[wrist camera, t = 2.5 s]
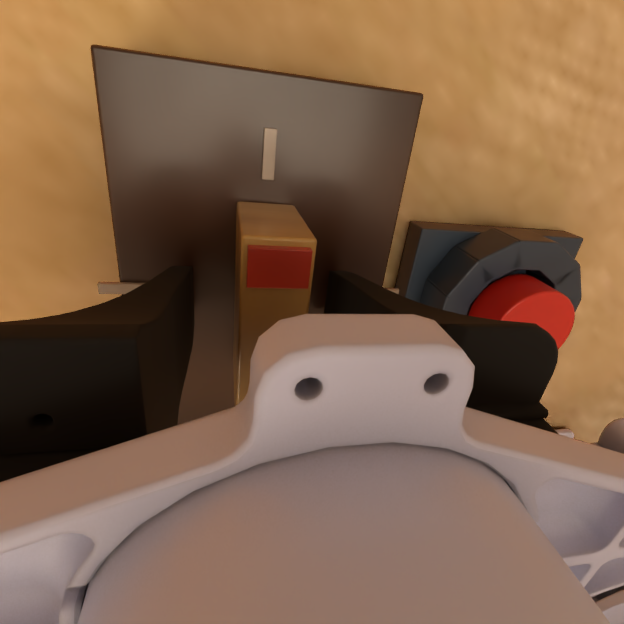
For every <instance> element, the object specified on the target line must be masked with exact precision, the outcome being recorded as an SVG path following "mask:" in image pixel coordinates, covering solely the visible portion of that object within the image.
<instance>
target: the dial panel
mask: <svg viewBox="0 0 624 624" xmlns="http://www.w3.org/2000/svg"><path fill="white" fill-rule="evenodd" d="M91 56H92V63H93V71H94V79H95V87H96V95H97V103H98V111H99V119H100V127H101V135H102V143H103V151H104V158H105V166H106V174H107V182H108V190H109V198H110V206H111V214H112V222H113V230H114V238H115V246H116V253H117V261H118V269H119V277H120V282H98V291H99V294H122V295H124V294H126V293H128V292H130V291H132V290H134V289H135V288H137V287H139V286H141V285H143V284H144V283H146V282H148V281H149V280H151V279H152V278H154V277H155V276H157V275H159V274H160V273H162V272H163V271H164V270H166V269H168V268H169V267H171V266H193V289H194V321H195V323H194V337H193V347H192V351H191V356H190V360H189V365H188V369H187V373H186V378H185V382H184V386H183V390H182V395H181V400H180V406H179V414H178V423H177V425H179V424H183V423H186V422H189V421H192V420H195V419H198V418H201V417H204V416H207V415H210V414H214V413H217V412H220V411H223V410H226V409H229V408H232V407H235V400H234V374H233V342H234V298H235V254H236V210H237V202H254V203H269V204H283V205H293V206H295V208H296V209H297V211H298V212H299V214H300V215H301V217H302V218H303V220H304V221H305V223H306V224H307V226H308V228H309V229H310V231H311V232H312V234H313V235H314V237H315V238H316V240H317V246H316V254H315V262H314V270H313V278H312V286H311V295H310V303H309V311H308V314H324V307H325V300H326V293H327V286H328V279H329V272H330V271H348V272H352V273H354V274H357V275H359V276H361V277H363V278H365V279H367V280H369V281H371V282H373V283H375V284H377V285H379V286H381V287H382V285H383V281H384V276H385V271H386V267H387V262H388V257H389V253H390V248H391V244H392V239H393V234H394V230H395V225H396V220H397V216H398V211H399V206H400V202H401V197H402V193H403V188H404V183H405V179H406V174H407V169H408V165H409V160H410V155H411V151H412V146H413V142H414V137H415V132H416V128H417V123H418V118H419V114H420V109H421V104H422V100H423V94H422V93H417V92H411V91H404V90H397V89H390V88H384V87H377V86H370V85H364V84H357V83H350V82H343V81H337V80H330V79H323V78H316V77H310V76H303V75H296V74H289V73H283V72H276V71H269V70H262V69H256V68H249V67H242V66H235V65H229V64H222V63H215V62H209V61H202V60H195V59H188V58H182V57H175V56H168V55H161V54H155V53H148V52H141V51H134V50H128V49H121V48H114V47H107V46H101V45H91ZM386 289H388V290H390V291H392V292H394V293H396V294H398V293H399V289H398V288H386Z"/></svg>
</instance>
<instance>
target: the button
mask: <svg viewBox="0 0 624 624" xmlns="http://www.w3.org/2000/svg"><path fill="white" fill-rule="evenodd" d="M468 316H473V317H480V318H486V319H493V320H503V321H514V322H526V323H535V324H537V325H539V326H540V327H541V328H543V329H544V330H546V331H547V332H548V333H550V335H551V336H552V337H553V338H554V339H555V341H556V344H557V348H558V349H559V348H560V347H561V346H562V344H563V343H564V342H565V340H566V339H567V337H568V335H569V334H570V332H571V329H572V327H573V323H574V317H575V312H574V307H573V304H572V303H571V301H570V299H569V298H568V297H567V296H565V295H564V294H562V293H561V292H559V291H557V290H556V289H554V288H552V287H550V286H549V285H547V284H545V283H543V282H542V281H540V280H538V279H536V278H535V277H532V276H530V275H526V274H514V275H509V276H505V277H503V278H500V279H498V280H497V281H495V282H493V283H492V284H490V285H489V286H488V287H486V288H485V289H484V290H483V291H482V292H481V293H480V294H479V295H478V297H477V298H476V299H475V301H474V302H473V304H472V306H471V308H470V311H469V314H468Z"/></svg>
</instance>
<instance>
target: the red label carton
mask: <svg viewBox="0 0 624 624" xmlns="http://www.w3.org/2000/svg"><path fill="white" fill-rule="evenodd" d="M316 246H317V240H316V238H315V237H314V235H313V234H312V232H311V231H310V229H309V228H308V226H307V224H306V223H305V221H304V220H303V218H302V217H301V215H300V214H299V212H298V211H297V209H296V208H295V206H293V205H283V204H269V203H254V202H237V210H236V254H235V298H234V342H233V374H234V400H235V406H236V405H238V404H239V403H240V402H241V401H242V400H243V399H244V398H245V396H246V394H247V392H248V387H249V381H250V360H251V357H252V354H253V351H254V349H255V346H256V343H257V340H258V338H259V336H261V335H262V334H263V333H264V332H265V331H267V330H268V329H269V328H270V327H272V326H273V325H274V324H275V323H277V322H278V321H279V320H282V319H286V318H290V317H295V316H299V315H303V314H308V311H309V303H310V295H311V286H312V278H313V270H314V262H315V254H316Z"/></svg>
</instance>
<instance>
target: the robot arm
mask: <svg viewBox="0 0 624 624" xmlns="http://www.w3.org/2000/svg"><path fill="white" fill-rule="evenodd" d="M194 323H195V321H194V289H193V266H171V267H169V268H168V269H166V270H164V271H163V272H162V273H160V274H159V275H157V276H155V277H154V278H152V279H151V280H149V281H148V282H146V283H144V284H143V285H141V286H139V287H137V288H135V289H134V290H132V291H130V292H128V293H126V294H124V295H122V296H120V297H117V298H115V299H112V300H110V301H107V302H105V303H102V304H99V305H95V306H92V307H88V308H85V309H81V310H78V311H74V312H70V313H65V314H60V315H55V316H49V317H44V318H37V319H30V320H20V321H9V322H0V624H624V418H620V419H617V420H614V421H612V422H611V423H609V424H608V425H607V426H606V427H605V428H604V430H603V432H602V433H601V435H600V438H599V441H598V443H586V442H583V441H579V440H576V439H573V438H574V433H573V432H572V431H571V430H570V429H557V430H554V429H553V428H552V427H551V426H550V425H549V424H548V423H547V422H546V421H545V420H544V419H543V418H547V416H548V410H547V409H546V408H545V407H544V406H543V405H542V404H541V403H540V402H539V401H540V399H541V397H542V395H543V393H544V391H545V389H546V387H547V385H548V383H549V381H550V379H551V377H552V375H553V372H554V369H555V367H556V364H557V358H558V348H557V344H556V341H555V339H554V338H553V337H552V336H551V335H550V333H548V332H547V331H546V330H544V329H543V328H541V327H540V326H539V325H537V324H535V323H526V322H514V321H503V320H493V319H486V318H480V317H473V316H468V315H463V314H458V313H454V312H450V311H446V310H442V309H438V308H434V307H431V306H428V305H425V304H422V303H419V302H416V301H413V300H411V299H408V298H406V297H403V296H401V295H399V294H396V293H394V292H392V291H390V290H388V289H386V288H383V287H381V286H379V285H377V284H375V283H373V282H371V281H369V280H367V279H365V278H363V277H361V276H359V275H357V274H354V273H352V272H348V271H330V272H329V279H328V286H327V293H326V300H325V307H324V314H303V315H299V316H295V317H290V318H286V319H282V320H279V321H278V322H277V323H275V324H274V325H273V326H272V327H270V328H269V329H268V330H267V331H265V332H264V333H263V334H262V335H261V336H259V338H258V340H257V343H256V346H255V349H254V351H253V354H252V357H251V360H250V381H249V387H248V392H247V394H246V396H245V398H244V399H243V400H242V401H241V402H240V403H239V404H238V405H236V406H235V407H232V408H229V409H226V410H223V411H220V412H217V413H214V414H210V415H207V416H204V417H201V418H198V419H195V420H192V421H189V422H186V423H183V424H179V425H177V423H178V414H179V406H180V400H181V395H182V390H183V386H184V382H185V378H186V373H187V369H188V365H189V360H190V356H191V351H192V347H193V337H194Z"/></svg>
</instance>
